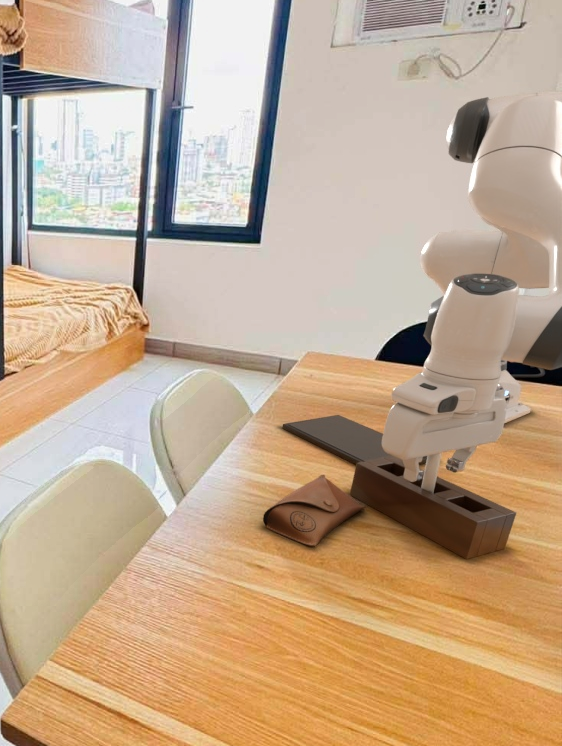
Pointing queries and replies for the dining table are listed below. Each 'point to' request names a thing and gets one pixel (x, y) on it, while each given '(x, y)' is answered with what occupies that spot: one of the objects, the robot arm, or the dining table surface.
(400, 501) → the pen holder
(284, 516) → the sunglasses case
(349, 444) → the tablet
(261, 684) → the dining table surface
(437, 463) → the stylus
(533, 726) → the dining table surface
